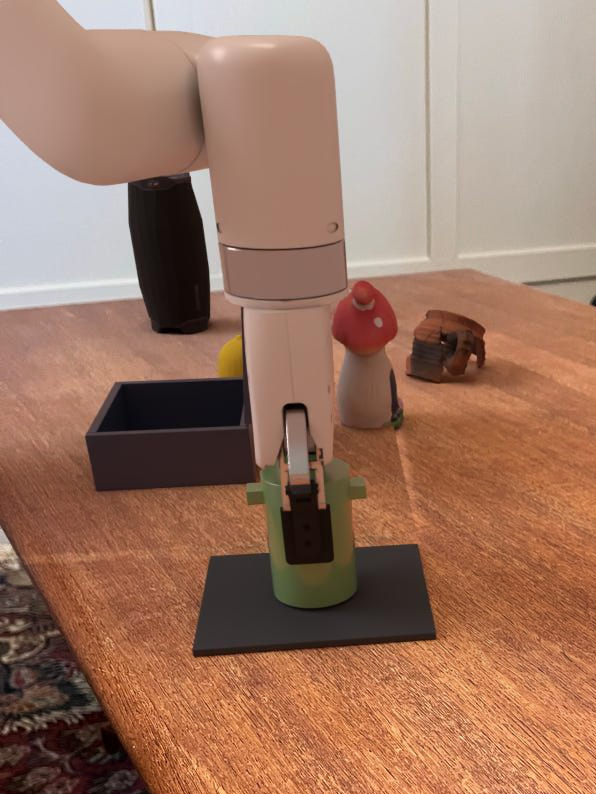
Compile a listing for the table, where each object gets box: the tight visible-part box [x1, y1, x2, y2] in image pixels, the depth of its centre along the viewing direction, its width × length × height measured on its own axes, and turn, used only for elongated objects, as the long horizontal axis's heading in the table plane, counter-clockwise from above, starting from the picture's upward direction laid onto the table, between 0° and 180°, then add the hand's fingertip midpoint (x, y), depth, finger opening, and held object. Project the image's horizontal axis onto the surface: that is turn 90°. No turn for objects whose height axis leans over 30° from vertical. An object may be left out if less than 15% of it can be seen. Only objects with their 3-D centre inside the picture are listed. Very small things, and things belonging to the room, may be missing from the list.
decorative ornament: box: [331, 280, 405, 430], centre depth 101 cm, size 9×6×15 cm
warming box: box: [84, 377, 258, 492], centre depth 94 cm, size 14×16×6 cm
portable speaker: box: [127, 172, 211, 334], centre depth 135 cm, size 9×9×20 cm
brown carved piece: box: [405, 309, 487, 384], centre depth 120 cm, size 12×10×8 cm
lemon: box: [217, 333, 243, 378], centre depth 108 cm, size 6×6×8 cm
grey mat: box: [191, 543, 437, 657], centre depth 73 cm, size 16×14×1 cm
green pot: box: [245, 455, 368, 608], centre depth 70 cm, size 8×6×9 cm
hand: (310, 538), depth 71 cm, fingers closed on green pot, 6 cm apart
